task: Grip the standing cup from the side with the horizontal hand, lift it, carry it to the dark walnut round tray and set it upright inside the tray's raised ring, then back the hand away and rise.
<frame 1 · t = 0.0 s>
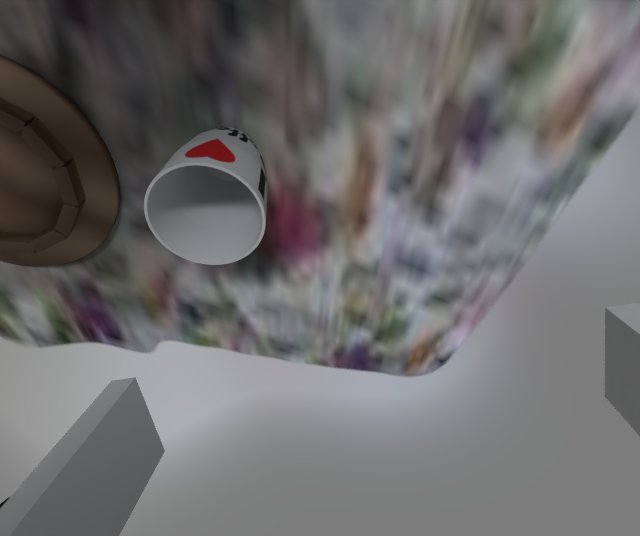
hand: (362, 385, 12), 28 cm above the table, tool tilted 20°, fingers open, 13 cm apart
round tray: (0, 168, 38), on the table
cup: (229, 154, 38), on the table
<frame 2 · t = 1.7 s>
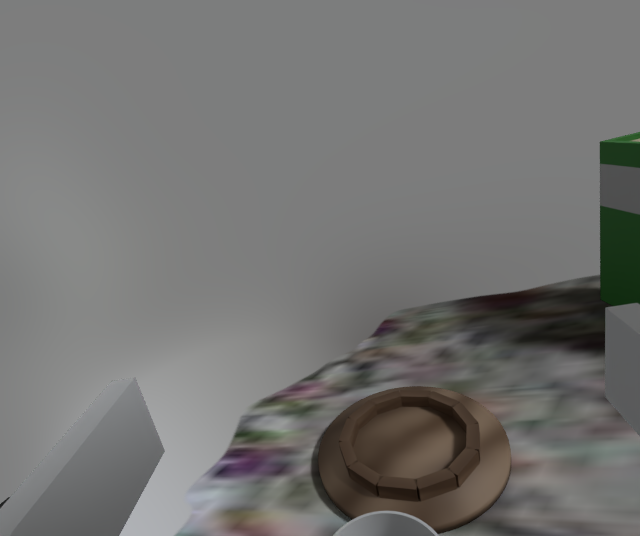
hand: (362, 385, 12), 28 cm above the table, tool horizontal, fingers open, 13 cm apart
round tray: (410, 450, 48), on the table
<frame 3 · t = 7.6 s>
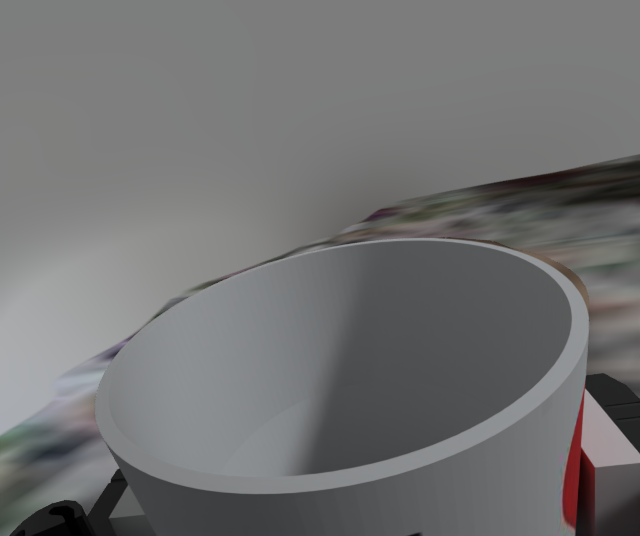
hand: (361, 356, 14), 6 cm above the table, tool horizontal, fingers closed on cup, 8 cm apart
round tray: (413, 309, 29), on the table
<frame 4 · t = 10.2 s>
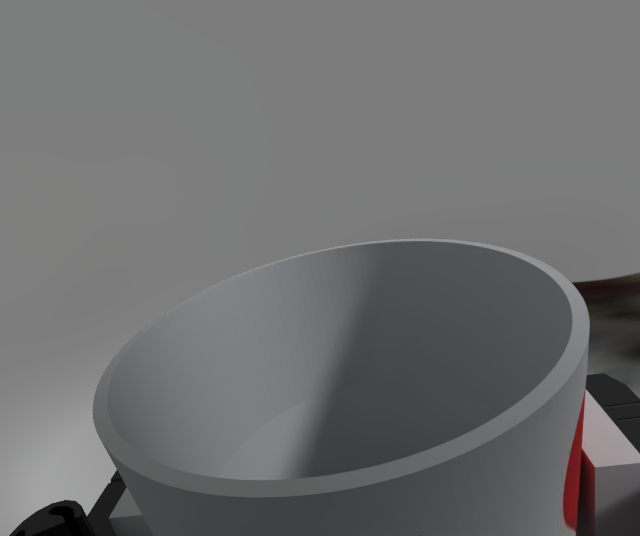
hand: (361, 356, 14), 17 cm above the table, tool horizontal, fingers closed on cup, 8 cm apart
when the fingers open (8 cm above the table, at t = 13.0 s): cup drops 1 cm, point 1 cm above the table.
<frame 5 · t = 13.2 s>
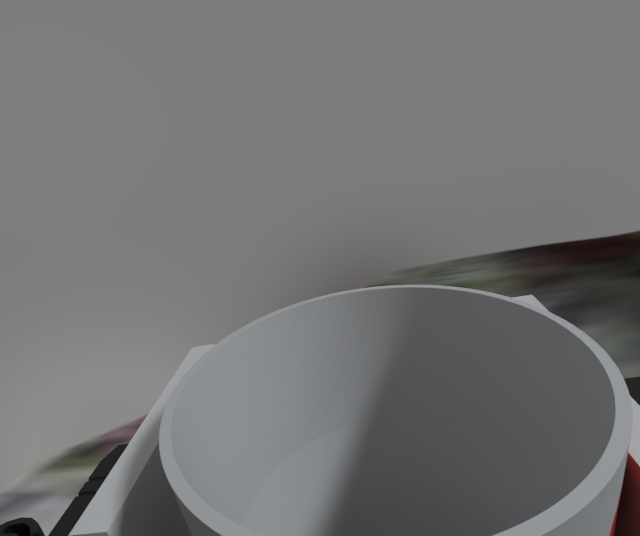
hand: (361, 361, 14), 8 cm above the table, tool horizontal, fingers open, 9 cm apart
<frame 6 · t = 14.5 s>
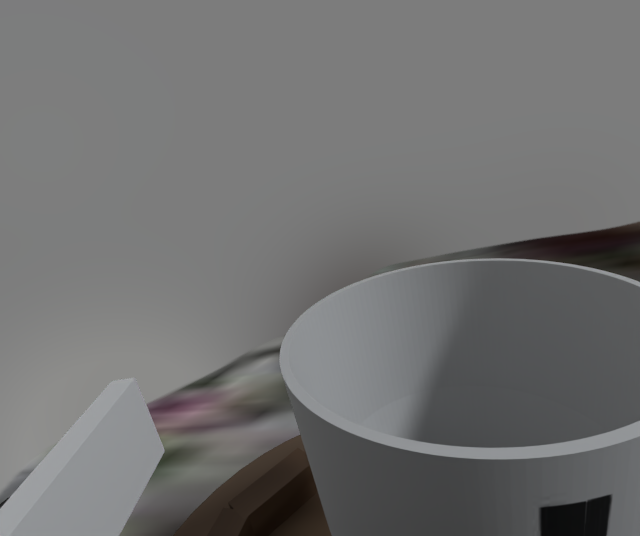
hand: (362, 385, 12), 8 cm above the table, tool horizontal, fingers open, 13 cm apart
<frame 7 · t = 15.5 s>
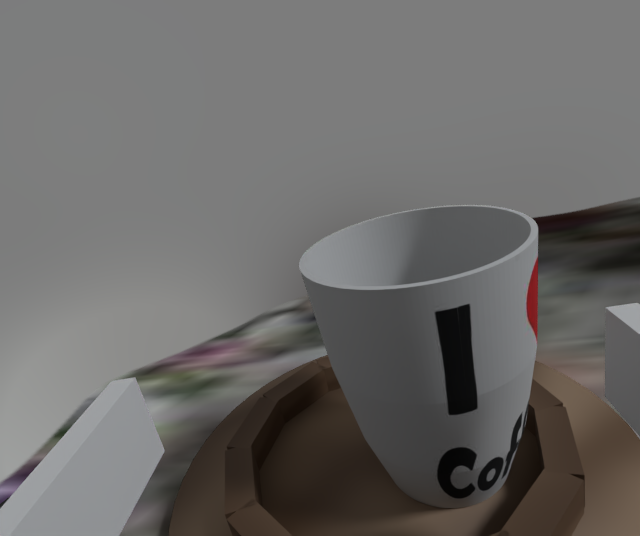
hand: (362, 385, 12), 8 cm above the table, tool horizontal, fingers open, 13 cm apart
round tray: (395, 471, 20), on the table
cup: (445, 460, 19), point 1 cm above the table, touching round tray
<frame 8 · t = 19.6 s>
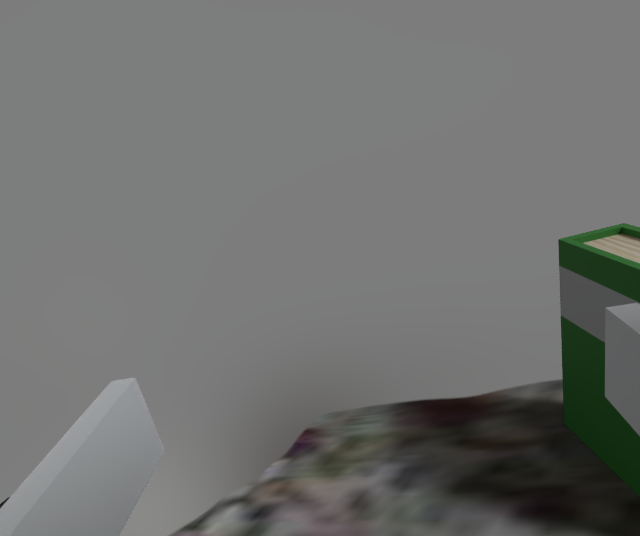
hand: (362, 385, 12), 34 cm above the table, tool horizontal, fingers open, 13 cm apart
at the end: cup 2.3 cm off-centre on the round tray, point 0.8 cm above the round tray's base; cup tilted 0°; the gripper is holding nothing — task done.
